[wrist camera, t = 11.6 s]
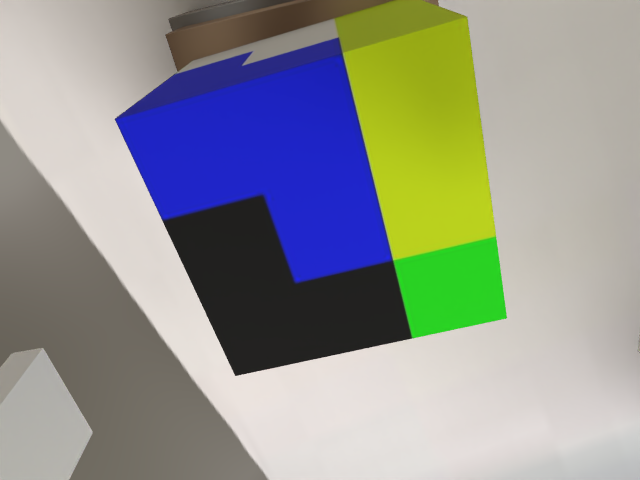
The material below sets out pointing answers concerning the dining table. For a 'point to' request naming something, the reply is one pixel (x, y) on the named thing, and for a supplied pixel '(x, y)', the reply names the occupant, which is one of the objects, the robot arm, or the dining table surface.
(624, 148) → the dining table surface
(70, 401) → the robot arm
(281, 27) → the plinth
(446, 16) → the puzzle toy
